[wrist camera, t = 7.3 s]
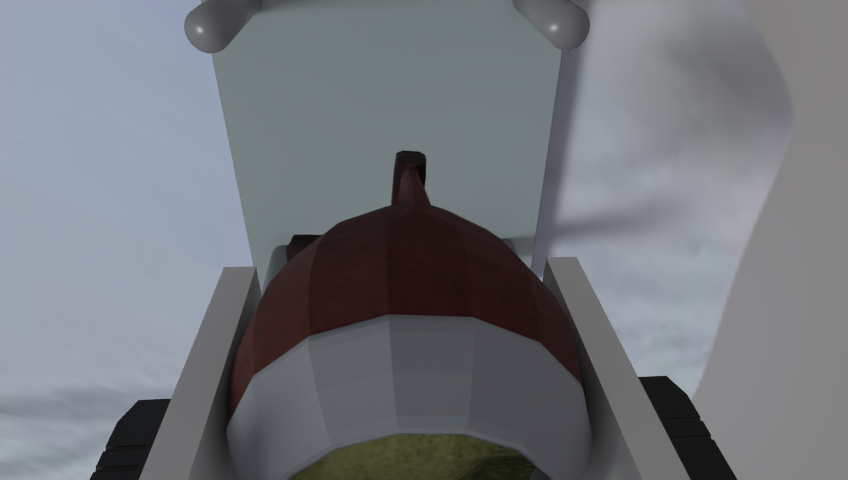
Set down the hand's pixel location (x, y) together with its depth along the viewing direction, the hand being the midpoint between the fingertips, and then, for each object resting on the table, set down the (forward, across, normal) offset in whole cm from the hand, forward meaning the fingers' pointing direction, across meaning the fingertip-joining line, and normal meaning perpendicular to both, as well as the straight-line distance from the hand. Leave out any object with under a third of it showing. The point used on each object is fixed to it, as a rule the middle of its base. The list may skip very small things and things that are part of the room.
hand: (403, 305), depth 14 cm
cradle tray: (+11, 0, 0) cm, 11 cm away
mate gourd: (+2, 0, 0) cm, 2 cm away
